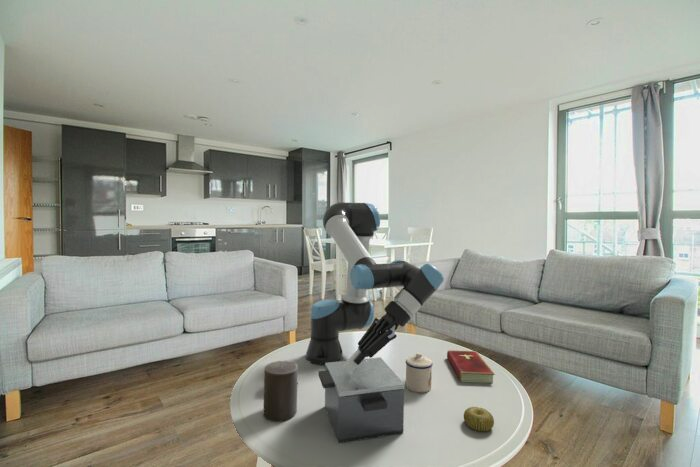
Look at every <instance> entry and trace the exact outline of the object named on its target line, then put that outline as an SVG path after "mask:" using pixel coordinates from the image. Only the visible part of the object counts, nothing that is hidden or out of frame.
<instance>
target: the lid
mask: <svg viewBox="0 0 700 467" xmlns="http://www.w3.org/2000/svg"><path fill="white" fill-rule="evenodd" d="M347 361H348V360H341V361H339V362H329V363H325V365H324V367H325V368H326V370H325V369H324V370H318V371H317V372H318V374H317V375H318V378H319V380H320V383H321V385H322V386H321V387H322V388H323V389H325V388H331V387H335V389H336V391H337V394H338V396H339V397H342V396H349V395H357V394H365V393H373V392H381V391H389V390H397V389H404V390H405V382H403V380H401V379H400V377H399V376H398V375H397V374H396V373H395V372H394V371H393V370H392V369H391V367H390V366H389V365H388V363H386V362H385V361H384V359H383V358H382V357H381V356H380V357H379V356H378V357H371V358H370V357H368V358H364V359H363V361H362V362H361V363H360V364H359V365H358V366H357V367H356V368H355V370H354V371H353V372H352V373H351V374H349V373H348V372H347V371H346V370H345V369H344V368H343V365H344V364H345V363H346V362H347Z"/></svg>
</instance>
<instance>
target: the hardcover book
mask: <svg viewBox="0 0 700 467" xmlns="http://www.w3.org/2000/svg"><path fill="white" fill-rule="evenodd" d="M446 357H447V358H446V359H447V360H448V362H449V364H450V366H451V368H452V369H453V371H454V374H456V377H457V378H458V380H459V382H460V383H462V382H463V383H481V384H482V383H484V384H486V383H487V384H493V383H494V376H495V374H496V373H495V372H494V371H493V370H492V369H491V367H490V366H489V365H488V364H487V363H486V361H485V360H484V359H483V357H482V356H481V355H480V354H479V353H478V351H474V350H473V351H472V350H455V349H454V350H452V349H451V350H447V352H446Z"/></svg>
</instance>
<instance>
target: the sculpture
mask: <svg viewBox="0 0 700 467" xmlns="http://www.w3.org/2000/svg"><path fill="white" fill-rule="evenodd" d="M463 420H464V422H465V424H466V425H467V426H468V427H469V428H470V429H472V430H475V431H478V432H487V431H490V430H491V429H492V428H494V424H495V419H494V416H493V415H492V413H490V412H489V410H487V409H486V408H483V407H479V406H470V407H468V408H466V409H465V410H464V413H463Z"/></svg>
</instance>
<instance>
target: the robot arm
mask: <svg viewBox="0 0 700 467" xmlns="http://www.w3.org/2000/svg"><path fill="white" fill-rule="evenodd" d="M322 225H323V228H324V230H325V232H326V234H327V235H328V236H330V237H332V238H333V241H334V242H335V244H336V245H337V247H338V248H339V250H340V252H341V253H342V255H343V257H344V258H345V260H346V261H347V270H346V271H347V272H346V273H347V274H346V288H345V289H346V291H345V292H346V293H345V294H343V296H342V300H341V302H339V300H337V299H335V298H334V299H331V298H329V299H323V300H322V299H321V300H319V301H316V302H314V303H313V304H312V306H311V309H310V340H309V343H308V347H307V350H306V353H305V354H306V355H305V358H306V360H307V362H309V363H310V364H314V365H320V366H321V365H322V366H325V363H329V362H339V361H343V355H344V354H343V348H342V345H341V341H340V339H339V337H340V336H339V335H340V334H339V333H340V332H345V331H353V330H361V329H365V328H368V327H369V328H368V329H367V330H366V331H365V333H364V334H363V336H362V337H361V338H360V339H359V341H358V342H357V345H358V346H357V349H356V351H354V353H352V355H351V356H350V357H349V358H348V359H347V360H346V361H347V362H346V363H345V364H344V365H343V368H344V369H345V370H346V371H347V372H348V373H349V374H351V373H352V372H353V371H354V370H355V368H356V367H357V366H358V365H359V364H360V363H361V362H362V361H363V359H366V358H374V356H375V355H376V354H378V352H380V351H381V350H382V349H383V348H384V347H385V346H386V345H388V344H389V343H390V342H391V341H393V340H395V339H396V338H397V334H396V333H395V332H396V331H397V329H398V327H399V326H400V327H402V328H403V327H405V326H406V325H407V323H408V322H409V321H410V320H411V317H414V316H415V315H416V313H417V312H419V309H420V308H422V306H423V305H424V304H425V303H426V302H427V301H428V300H429V299H430V298H431V297H432V296H433V294H434V293H435V292H436V291H438V289H439V288H440V286H441V285H442V284H443V282H444V280H445V278H444V275H443V274H442V272H440V270H439V269H438V268H437V267H435V266H434V265H432V264H431V263H425V264H423V265H422V266H421V267H420V268H419V267H417V266H415V265H413V264H411V263H409V262H407V261H405V260H402V259H395V260H393V261H391V262H390V263H376V261H375V260H374V258H373V257H372V256H371V255H370V253H369V252H370V241H371V239H372V238H373V237H374V233H375V232H376V231H378V230H379V228H380V225H381V214H380V212H379V210H378V208H377V207H376V205H375V204H373V203H367V202H343V201H340V202H336V203H334V204H331V205H330V206H329V207H328V208H327V209H326V210H325V212H324V215H323V217H322ZM400 287H402V288H401V289H400V290H399V292H398V293H397V294H395V295H394V297H393V300H391V301H389V302H388V304H387V305H386V306H385V307H384V310H383V311H384V312H385V314H384V315H382V316H381V317H380V318H379V319H378V318H377V317H375V318H374V316H375V309H374V304H373V302H372V301H371V300H370V297H369V296H368V295H367V291H368V290H373V289H376V290H377V289H382V288H383V289H386V288H400Z"/></svg>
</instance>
